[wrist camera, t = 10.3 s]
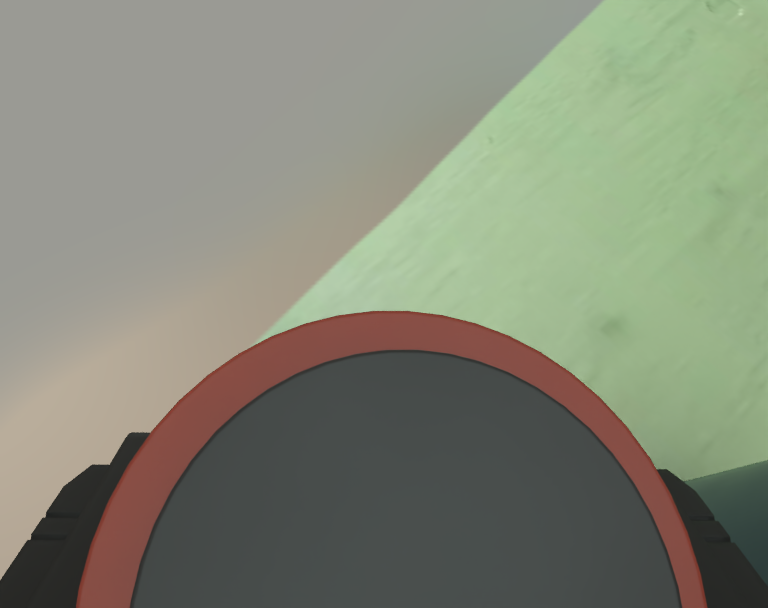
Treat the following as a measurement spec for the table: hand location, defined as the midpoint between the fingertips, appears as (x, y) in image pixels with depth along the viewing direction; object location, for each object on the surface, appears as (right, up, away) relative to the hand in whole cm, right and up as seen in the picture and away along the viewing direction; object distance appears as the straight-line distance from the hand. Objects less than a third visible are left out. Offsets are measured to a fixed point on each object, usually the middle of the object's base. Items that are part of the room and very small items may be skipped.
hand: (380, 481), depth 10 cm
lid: (0, -3, +3) cm, 5 cm away
